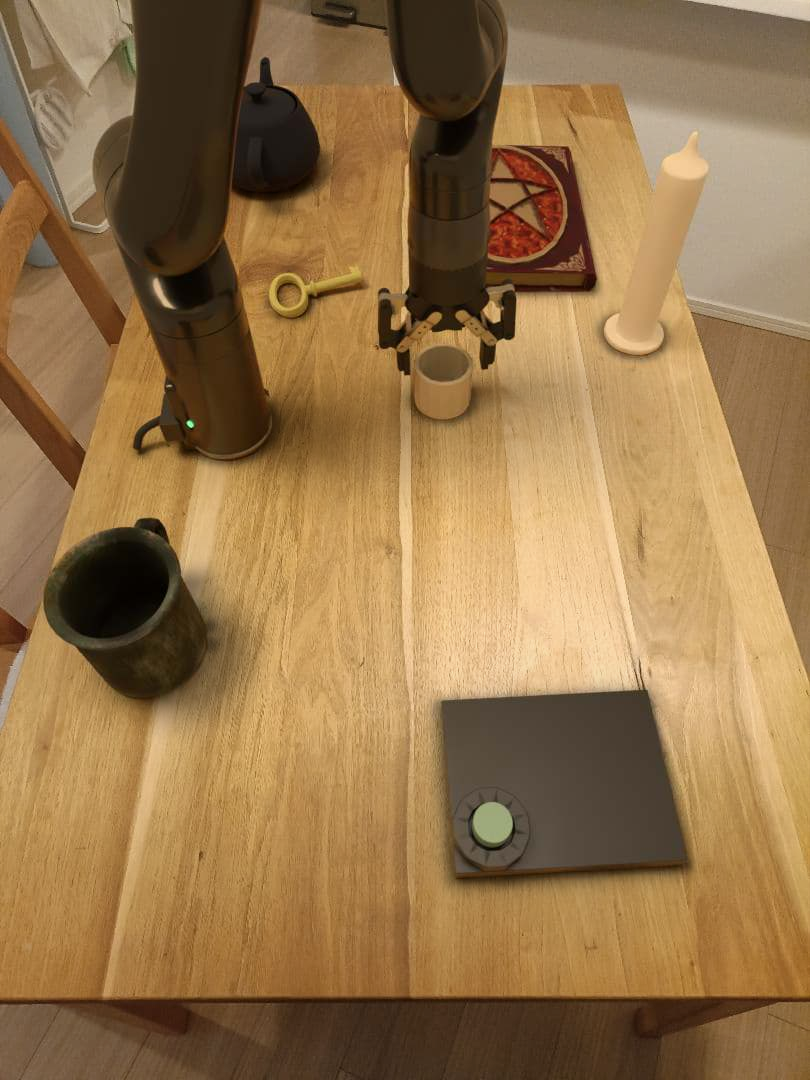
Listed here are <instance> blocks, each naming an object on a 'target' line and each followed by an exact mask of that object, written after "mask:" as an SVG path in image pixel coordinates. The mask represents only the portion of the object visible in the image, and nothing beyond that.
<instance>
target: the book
mask: <svg viewBox="0 0 810 1080" xmlns="http://www.w3.org/2000/svg"><path fill="white" fill-rule="evenodd" d="M571 151H572V150H571V148H570V146H564V145H563V146H562V145H525V144H523V145H520V144H519V145H518V144H492V168H491V182H490V196H489V207H490V234H491V236H490V243H489V246H488V258H487V271H486V286H487V288H488V287H497V286H501V283H502V281H503V280H505V279H511V280H512V281H513V285H514V289H515V291H525V292H526V291H527V292H528V291H529V292H531V291H533V292H534V291H535V292H537V291H539V292H540V291H541V292H542V291H543V292H590V291H592V290H593V289H594V288H595V287H596V285H597V281H598V276H597V272H596V271H597V270H596V267H595V261H594V257H593V252H592V248H591V247H592V246H591V243H590V238H589V234H588V233H589V232H588V228H587V223H586V219H585V213H584V208H583V204H582V199H581V194H580V190H579V185H578V180H577V174H576V170H575V165H574V164H575V163H574V160H573V155H572V152H571Z"/></svg>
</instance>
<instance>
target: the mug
mask: <svg viewBox="0 0 810 1080" xmlns="http://www.w3.org/2000/svg"><path fill="white" fill-rule="evenodd" d="M177 554H178V553H177V552H176V551H175V549H174V548H173V546H172V545H171V543H170V538H169V535H168V531H167V529H166V527H165V526H164V523H162V521H161V520H160V519H159V518H157V517H156V518H155V517H142V518H138V519H137V520H136V521H135V523H134V525H133V526H118V527H111V528H108V529H105V530H104V529H103V530H100V531H98V532H96V533H92V534H90V535H88V536H87V537H85V538H82V539H81V540H80V541H78V542H77V543H76V544H74V545H73V546H71V547H70V548H69V549H68V550H67V551H66V552H64V554H63V555H62V556H61V557H60V558H59V560H57V562H56V563H55V565H54V567H53V568H52V570H51V571H50V573H49V576H48V577H47V580H46V583H45V586H44V589H43V599H42V601H43V611H44V615H45V618H46V621H47V623H48V625H49V627H50V629H51V630H52V631H53V632H54V634H55V635H56V636H57V637H59V638H60V639H61V640H63V641H64V642H66V643H68V644H70V645H72V646H74V647H75V648H76V650H77V651H78V652H79V653H80V654H81V655H82V656H83V657H84V658H85V660H86V661H87V662H88V663H89V664H90V666H91V667H92V668H93V669H94V671H96V673H97V674H99V676H100V677H101V678H102V679H103V680H104V682H105V683H106V684H107V685H108V686H109V687H110V688H111V689H113V690H114V691H116V692H118V693H120V694H121V695H124V696H128V697H133V698H151V697H157V696H160V695H163V694H165V693H167V692H170V691H172V690H174V689H175V688H177V687H178V686H180V685H182V684H183V683H184V682H185V681H186V680H187V679H189V678H190V676H191V675H192V674H193V673H194V672H195V671H196V669H197V668H198V666H199V664H200V662H201V661H202V658H203V657H204V654H205V651H206V647H207V640H208V635H207V634H208V632H207V627H206V623H205V620H204V618H203V616H202V614H201V612H200V609H199V608H198V606H197V604H196V602H195V600H194V598H193V596H192V594H191V592H190V590H189V589H188V586H187V584H186V582H185V580H184V578H183V575H182V569H181V563H180V560H179V558H178V555H177Z"/></svg>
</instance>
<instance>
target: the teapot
mask: <svg viewBox="0 0 810 1080" xmlns="http://www.w3.org/2000/svg"><path fill="white" fill-rule="evenodd" d="M320 152H321V145H320V138H319V134H318V131H317V129H316V127H315V124H314V121H313V120H312V118H311V116H310V115H309V112H308V111H307V109H306V108H305V105H304V104H303V102H302V100H301V99H300V98H299V97H298V95H297V94H296V93H295V92H293V91H292V90H291V89H288V88H286V87H284V86H280V85H276V84H274V81H273V76H272V70H271V61H270V59H269V57H267V56H264V57H262V58H261V60H260V62H259V81H253V82H250V83H247V84H245V85H244V90H243V95H242V99H241V105H240V111H239V117H238V125H237V133H236V142H235V152H234V163H233V174H232V185H234V186H237V187H238V188H240V189H242V190H244V191H247V192H251V193H258V194H270V193H278V192H282V191H285V190H288V189H291V188H293V187H295V186H297V185H298V184H300V183H301V182H302V181H303V180H304V179H305V178H306V177H307V176H309V174H310V173H311V172H312V171H313V170H314V168H315V167H316V165H317V164H318V161H319V157H320Z"/></svg>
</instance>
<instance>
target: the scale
mask: <svg viewBox="0 0 810 1080" xmlns="http://www.w3.org/2000/svg"><path fill="white" fill-rule="evenodd" d="M440 718H441V728H442V730H441V731H442V741H443V755H444V766H445V779H446V790H447V791H446V792H447V793H446V794H447V806H448V816H449V818H448V819H449V829H450V842H451V855H452V866H453V867H452V868H453V878H454V879H462V878H478V877H479V878H480V877H495V876H496V877H498V876H511V875H512V876H513V875H515V876H516V875H529V874H531V875H532V874H549V873H550V874H551V873H564V872H565V873H566V872H583V871H600V870H601V871H602V870H603V871H604V870H617V869H618V870H619V869H621V870H622V869H635V868H651V867H653V868H654V867H670V866H671V867H672V866H681V865H683V864H685V863H686V862H688V856H687V852H686V848H685V844H684V840H683V835H682V830H681V827H680V826H681V825H680V823H679V818H678V813H677V810H676V806H675V802H674V801H675V800H674V797H673V793H672V788H671V784H670V780H669V775H668V771H667V767H666V763H665V759H664V755H663V751H662V746H661V741H660V738H659V737H660V736H659V734H658V730H657V729H658V728H657V725H656V720H655V716H654V712H653V707H652V704H651V699H650V694H649V691H648V689H633V690H632V689H631V690H616V691H615V690H613V691H600V692H599V691H598V692H597V691H596V692H595V691H594V692H579V693H578V692H576V693H557V694H538V695H521V696H520V695H519V696H503V697H483V698H482V697H481V698H463V699H446V700H445V699H443V700H441V702H440ZM488 802H496V803H499V804H501V805H503V806H504V807H506V808H507V809H508V811H509V812H510V814H511V816H512V820H513V828H512V831H511V833H510V836H509V838H508V839H507V841H506V842H505V843H504V844H502V845H501V846H499V847H494V848H491V847H486V846H484V845H482V844H481V843H479V842H478V841H477V840H476V838H475V836H474V834H473V831H472V821H473V817H474V814H475V812H476V810H477V809H478V808H479V807H480V806H481V805H483V804H485V803H488Z"/></svg>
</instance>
